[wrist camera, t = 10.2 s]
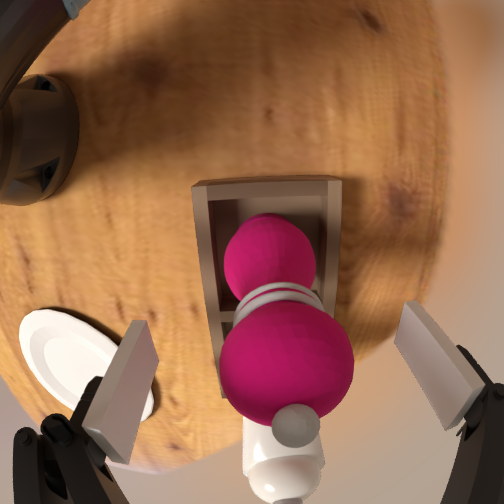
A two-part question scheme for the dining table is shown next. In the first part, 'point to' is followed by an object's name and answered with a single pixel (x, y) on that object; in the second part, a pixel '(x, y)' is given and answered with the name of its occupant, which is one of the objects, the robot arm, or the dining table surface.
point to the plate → (67, 354)
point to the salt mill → (280, 465)
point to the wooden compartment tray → (256, 202)
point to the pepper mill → (281, 334)
